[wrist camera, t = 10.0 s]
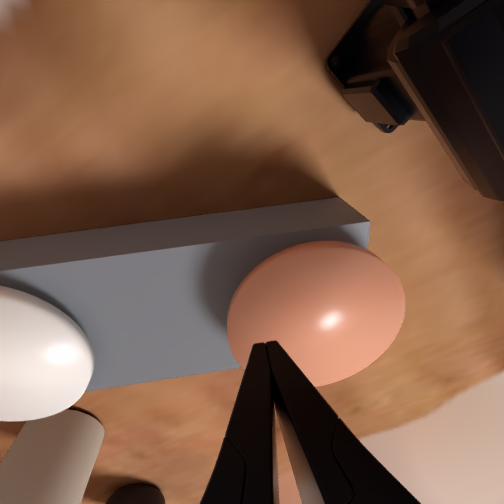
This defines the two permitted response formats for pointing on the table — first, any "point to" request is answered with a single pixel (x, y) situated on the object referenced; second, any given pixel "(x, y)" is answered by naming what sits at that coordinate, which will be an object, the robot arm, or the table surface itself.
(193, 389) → the table surface
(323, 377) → the terracotta plug
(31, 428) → the travel mug
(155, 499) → the cola bottle
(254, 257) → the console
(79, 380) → the ivory plug
